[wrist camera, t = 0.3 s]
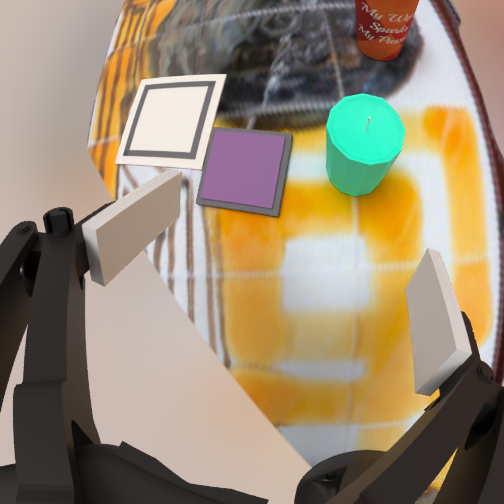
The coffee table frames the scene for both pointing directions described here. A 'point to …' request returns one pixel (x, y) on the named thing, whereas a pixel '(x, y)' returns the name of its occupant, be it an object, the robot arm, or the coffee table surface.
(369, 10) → the paper cup
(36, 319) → the robot arm
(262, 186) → the ink pad
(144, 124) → the marked card
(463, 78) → the coffee table surface
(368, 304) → the coffee table surface
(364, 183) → the candle
